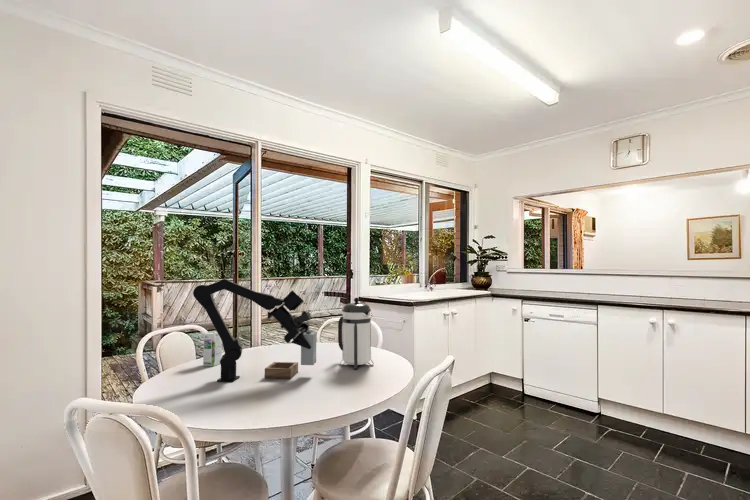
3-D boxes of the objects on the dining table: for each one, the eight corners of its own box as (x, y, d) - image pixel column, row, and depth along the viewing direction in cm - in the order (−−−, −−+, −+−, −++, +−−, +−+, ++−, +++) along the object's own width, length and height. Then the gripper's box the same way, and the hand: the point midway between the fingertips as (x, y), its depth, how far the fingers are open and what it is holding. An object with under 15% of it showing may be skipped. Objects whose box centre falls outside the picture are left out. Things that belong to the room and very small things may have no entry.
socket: (290, 379, 150) (290, 369, 150) (264, 378, 151) (264, 368, 151) (298, 372, 160) (298, 362, 160) (273, 371, 161) (273, 362, 161)
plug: (313, 365, 152) (313, 332, 153) (300, 364, 152) (301, 331, 153) (316, 362, 157) (316, 330, 158) (304, 361, 157) (304, 329, 158)
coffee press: (375, 361, 178) (375, 296, 180) (371, 370, 162) (371, 298, 164) (338, 360, 180) (338, 296, 181) (331, 369, 164) (331, 298, 165)
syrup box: (202, 365, 171) (202, 333, 172) (211, 362, 177) (212, 330, 178) (213, 366, 170) (213, 333, 170) (222, 363, 175) (222, 331, 176)
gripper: (292, 307, 147) (320, 337, 145) (305, 303, 165) (330, 329, 164) (272, 328, 147) (300, 357, 146) (287, 321, 166) (312, 347, 164)
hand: (312, 346), depth 155 cm, fingers closed on plug, 5 cm apart
